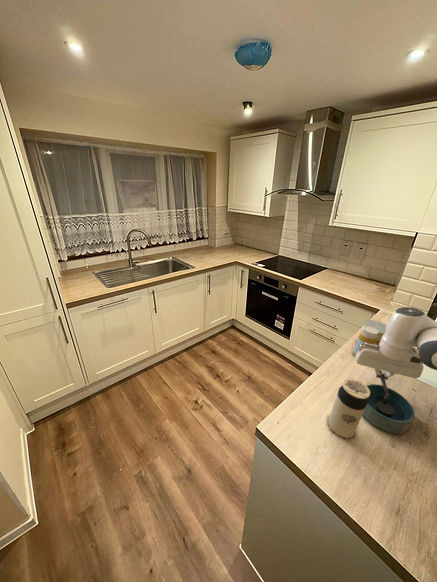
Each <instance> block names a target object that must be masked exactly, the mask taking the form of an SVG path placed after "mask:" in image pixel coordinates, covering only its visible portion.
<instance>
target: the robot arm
mask: <svg viewBox="0 0 437 582" xmlns="http://www.w3.org/2000/svg"><path fill="white" fill-rule="evenodd" d="M386 325H387V326H386V332H385V334H384V335H383V336H382V338H381V341H380V343H379V345H375V344H369V343H363V344H360V346H359V348H358V352H357V354H356V356H355V355H354V358H355V362H356V364H357V365H359V366H364V367H368V368H371V369H374V374H373V375H374V377H375V378H377V379H380V376H381V374H380V372H378V371H379V370H381V371H382V374H383V377H384V380H385V381H388V380H389V378H391V377H393V376H395V374H396V375H400V376H402V377H403V376H404V377H408V378H411V379H419V378H420V377H421V376H422V374H423V372H424V365H425V367H427V368H429V369H431V370H434V371H437V320H434V319H432V318H431V317H429V315H427V314H426V313H425V312H424V311H423V310H421V309H419V308H415V307H410V306H403V307H398V308H397V309H396V310H394V311H393V313H392V314H391V315H390V317H389V319H388V321H387V324H386ZM364 344H365V345H364ZM383 371H384V372H383Z"/></svg>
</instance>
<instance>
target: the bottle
mask: <svg viewBox="0 0 437 582" xmlns="http://www.w3.org/2000/svg"><path fill="white" fill-rule="evenodd" d="M362 328H363V329H362ZM362 328H361V331H362V332H361V331H360V333H359V335H358V337H357V340H356V343H355V346H354V348H353V351H352V353H353V355H354V357H355V356H356V354H357V352H358V348H359V346H360V344H363V343H369V344H376V341H377V339H376V338H377V336H378V333H379V331H378V330H377V329H376V328H374V327H371V326H364V327H363V326H362ZM364 345H365V344H364Z"/></svg>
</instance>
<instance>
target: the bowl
mask: <svg viewBox="0 0 437 582" xmlns="http://www.w3.org/2000/svg"><path fill="white" fill-rule="evenodd" d="M365 385H366V384H365ZM366 386H367V387H368V388H369V390H370V396H369V397H368V398H367V399H368V403H367V406H366V408H365V410H364V412H363V415H362V417H364V418H365V419H366V420H367V421H368V422H369V423H370V424H372V425H373V426H375V427H376V428H378V429H380V430H381V431H385V432H387V433H391V434H402V433H405V432H406V431H407V430H408V429H409V427H410V425H412V423H413V421H414V419H415V414H416V413H415V410H414V407H413V405H412V404H411V403H410V402H409V400H408V399H406V398H405V397H404V396H403V395H402V394H400V393H399V392H397V391H396V390H394V389H392V388H390V387H388V386H387V389H388V392H389V395H390V396H389V398H388V400H387V402H386V403H387V404H389V405H390V406H391V407H392V408H393V409H394V413H393V416H392V417H391V418H388V417H386V416H384V415H382V414H380V413H379V412H377V411H376V409H375V408H376V405H377V403H378V402H383V400H384V398H385V392H384V389H383V386H382V384H373V383H371V384H367V385H366Z"/></svg>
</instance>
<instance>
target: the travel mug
mask: <svg viewBox="0 0 437 582" xmlns="http://www.w3.org/2000/svg"><path fill="white" fill-rule="evenodd" d="M341 384H342V385H341V386H340V387H339V388H338V391H337V394H336V397H335V399H334V402H333V405H332V408H331V411H330V414H329V417H328V421H327V422H328V423H327V424H328V426H329V428H330V429H331V430H332V431H333V432H334V433H335V434H336V435H337V436H340V437H341V438H347V439H349V438H352V437H353V436H354V435H355V432H356V430H357V428H358V426H359V424H360V422H361V419H362V417H363V412H364V410H365V408H366V406H367V403H368V399H367V398H368V397H369V396H370V390H369V388H368V387H367V386H366V384H365V383H363V381H361V380H359V379H356V378H351V377H348V378H345V379H343V381H342V383H341Z"/></svg>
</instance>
